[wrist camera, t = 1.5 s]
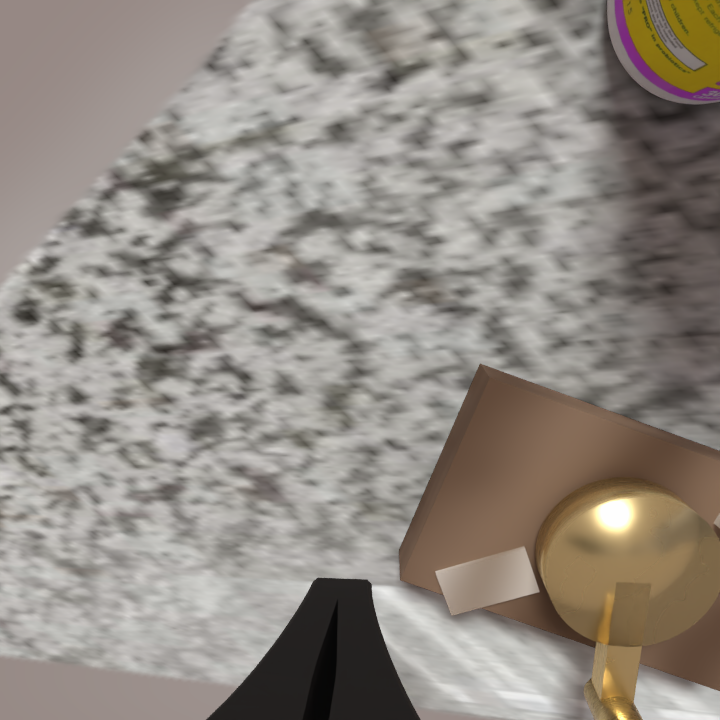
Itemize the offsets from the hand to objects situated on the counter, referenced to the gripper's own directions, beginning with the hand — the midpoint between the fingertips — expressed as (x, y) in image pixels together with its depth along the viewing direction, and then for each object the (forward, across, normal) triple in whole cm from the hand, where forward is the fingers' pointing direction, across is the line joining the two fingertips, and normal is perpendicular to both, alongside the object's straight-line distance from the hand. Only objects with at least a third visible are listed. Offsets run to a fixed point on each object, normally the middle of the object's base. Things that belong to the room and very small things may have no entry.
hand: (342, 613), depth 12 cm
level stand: (+9, -10, +3) cm, 14 cm away
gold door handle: (+7, -10, +4) cm, 13 cm away
